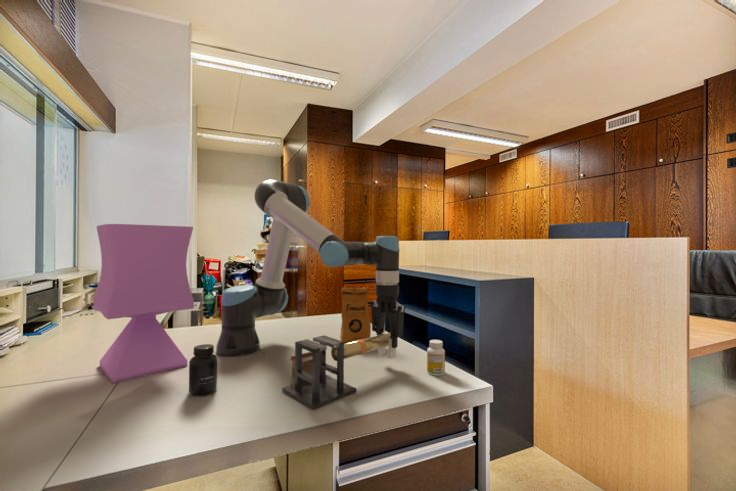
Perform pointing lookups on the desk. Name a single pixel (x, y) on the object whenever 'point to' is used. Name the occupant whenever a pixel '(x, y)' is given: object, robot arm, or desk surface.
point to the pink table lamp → (142, 295)
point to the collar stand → (319, 374)
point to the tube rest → (303, 364)
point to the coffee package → (355, 315)
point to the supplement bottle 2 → (436, 358)
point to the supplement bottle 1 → (203, 371)
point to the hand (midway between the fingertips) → (386, 355)
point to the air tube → (363, 346)
